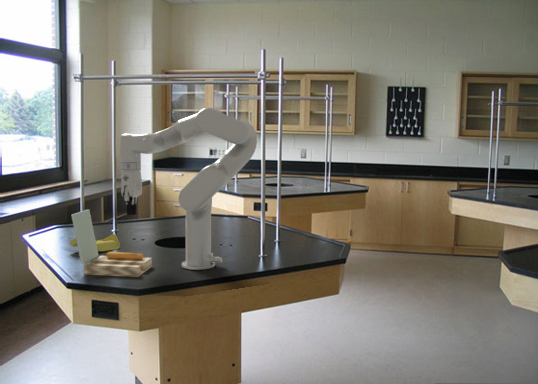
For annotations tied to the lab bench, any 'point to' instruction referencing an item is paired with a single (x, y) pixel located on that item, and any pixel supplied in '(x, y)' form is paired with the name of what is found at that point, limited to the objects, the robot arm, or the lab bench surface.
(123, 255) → the rod
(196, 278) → the lab bench surface
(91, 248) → the plate
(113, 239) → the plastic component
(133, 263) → the base
